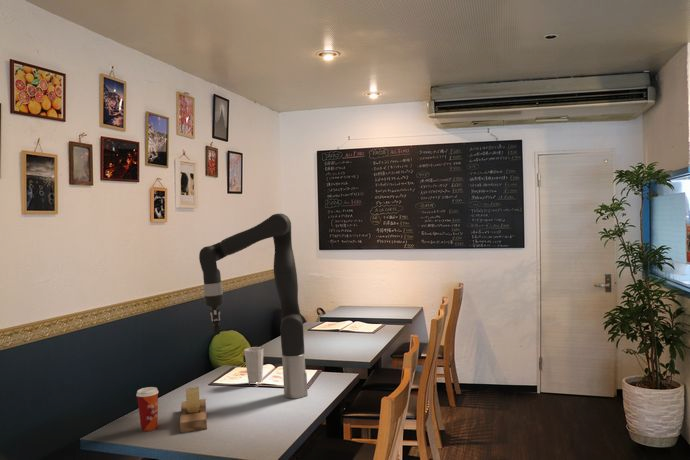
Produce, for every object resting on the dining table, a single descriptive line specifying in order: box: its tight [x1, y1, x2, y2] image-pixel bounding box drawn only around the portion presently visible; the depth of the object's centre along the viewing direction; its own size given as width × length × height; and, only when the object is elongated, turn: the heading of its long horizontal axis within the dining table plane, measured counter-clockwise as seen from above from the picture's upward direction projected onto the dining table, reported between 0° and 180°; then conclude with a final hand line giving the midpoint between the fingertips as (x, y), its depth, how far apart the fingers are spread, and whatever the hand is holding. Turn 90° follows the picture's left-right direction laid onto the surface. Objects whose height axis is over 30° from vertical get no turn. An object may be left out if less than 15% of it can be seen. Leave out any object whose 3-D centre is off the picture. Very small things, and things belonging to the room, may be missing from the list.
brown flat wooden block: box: [179, 398, 208, 433], centre depth 212 cm, size 9×24×4 cm, turn 15°
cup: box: [243, 346, 264, 384], centre depth 254 cm, size 8×8×16 cm
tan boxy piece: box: [185, 386, 200, 414], centre depth 212 cm, size 5×7×11 cm, turn 15°
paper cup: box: [135, 386, 160, 432], centre depth 205 cm, size 8×8×14 cm
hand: (217, 332), depth 236 cm, fingers open, 8 cm apart
